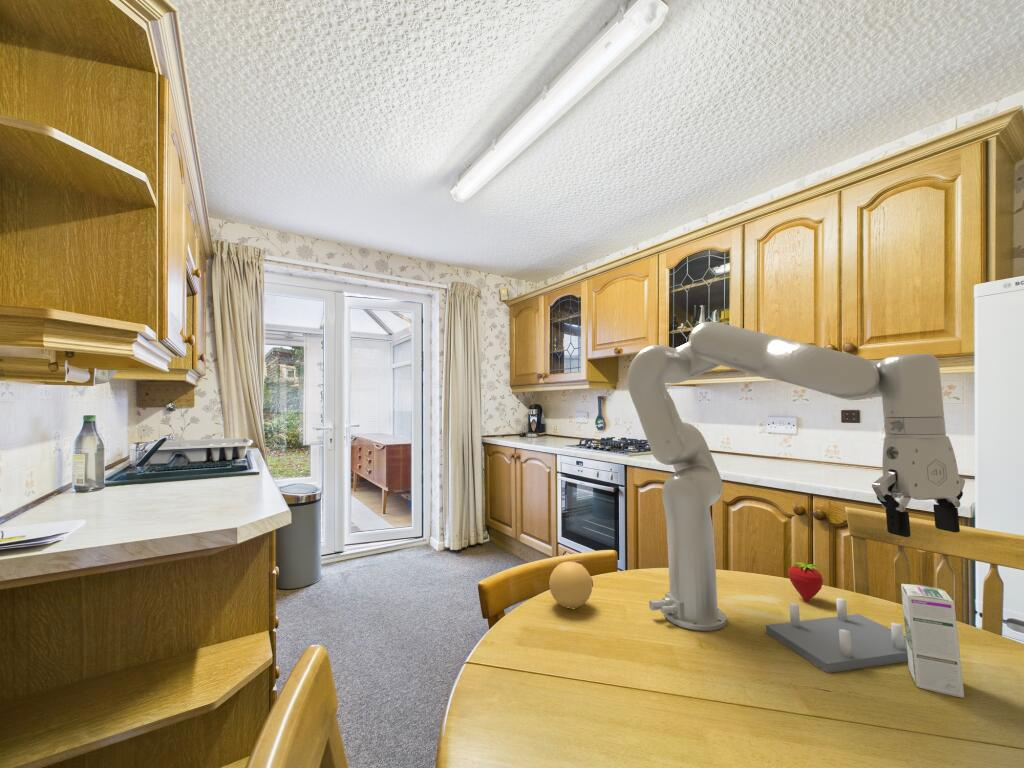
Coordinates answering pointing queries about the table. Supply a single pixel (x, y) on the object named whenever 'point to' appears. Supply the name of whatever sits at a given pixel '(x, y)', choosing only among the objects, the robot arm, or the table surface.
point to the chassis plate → (829, 642)
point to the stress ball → (570, 584)
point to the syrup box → (932, 639)
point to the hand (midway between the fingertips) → (923, 532)
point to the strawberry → (805, 579)
